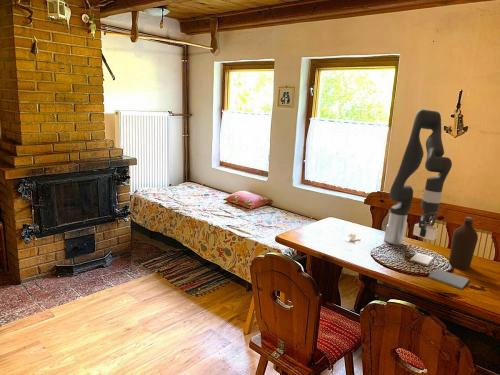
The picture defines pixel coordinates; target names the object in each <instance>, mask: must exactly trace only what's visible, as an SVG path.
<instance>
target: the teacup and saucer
mask: <svg viewBox="0 0 500 375" xmlns="http://www.w3.org/2000/svg"><path fill="white" fill-rule="evenodd" d="M361 239H362V238H361V237H359V236H357V234H356V233H354V232H353V233H352V232H351V233H349V235H348V236H347V237H345V239H344V240H345V241H346V242H347V243H351V244H358V243H360V241H361Z"/></svg>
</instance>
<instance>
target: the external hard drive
mask: <svg viewBox="0 0 500 375" xmlns="http://www.w3.org/2000/svg"><path fill="white" fill-rule="evenodd" d="M434 259H435V258H434V257H433V256H430V255H427V254H425V253H419V252H416V253H415V255H414V256H412V257H411V258H410V259H409V262H412V261H414V262H413V263H415V262H417V263H416V264H418V263H420V264H419V265H421V264H423V265H422V266H425V265H426V267H428V266H429V265H430V264H431V263H430V262H432V261H433V260H434ZM429 263H430V264H429Z"/></svg>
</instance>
